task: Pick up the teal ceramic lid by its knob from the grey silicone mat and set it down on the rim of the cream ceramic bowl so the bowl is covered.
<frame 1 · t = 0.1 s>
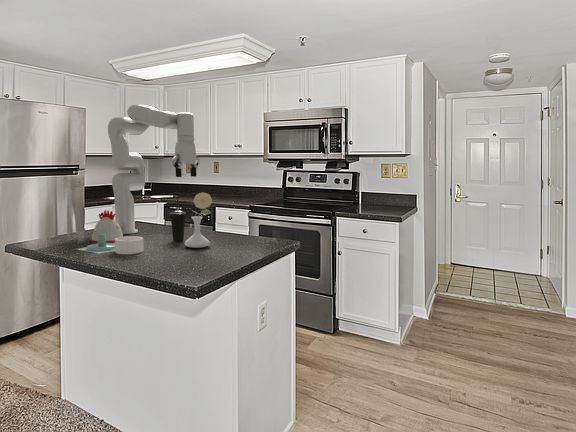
hand: (186, 176, 199), 31 cm above the countertop, tool pointing down, fingers open, 9 cm apart
lid: (102, 248, 183), point 1 cm above the countertop, touching mat
mat: (102, 249, 183), on the countertop
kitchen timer: (107, 242, 202), on the countertop
flower in vase: (199, 247, 192), on the countertop
drinking cup: (178, 240, 207), on the countertop
bowl: (129, 252, 179), on the countertop
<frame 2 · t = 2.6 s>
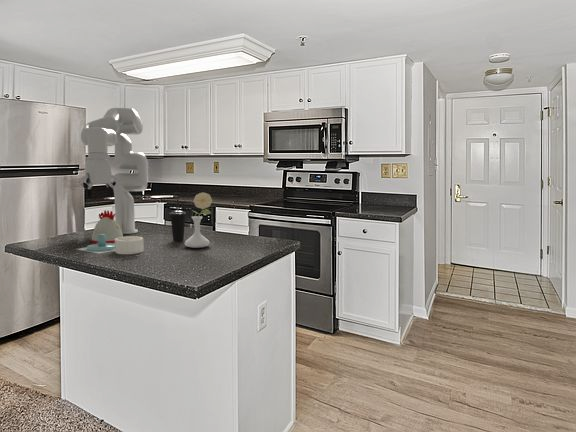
hand: (99, 198, 180), 22 cm above the countertop, tool pointing down, fingers open, 9 cm apart
nothing on the countertop moved.
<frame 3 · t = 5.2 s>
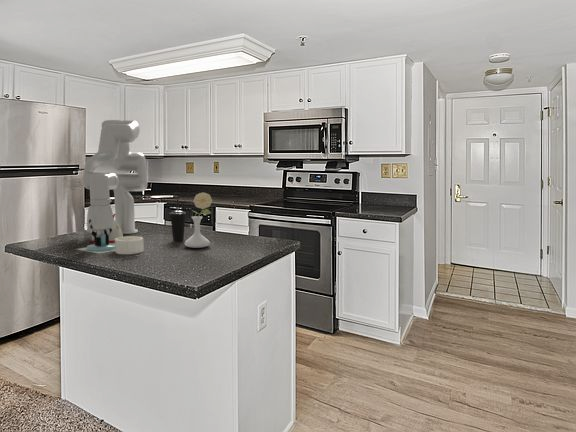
hand: (101, 244, 183), 2 cm above the countertop, tool pointing down, fingers closed on lid, 3 cm apart
lid: (102, 248, 183), point 1 cm above the countertop, touching gripper, mat
everything else where it was.
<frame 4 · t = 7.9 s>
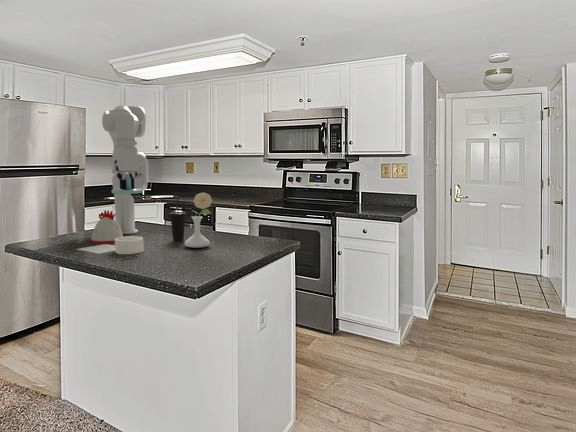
hand: (127, 188, 175), 27 cm above the countertop, tool pointing down, fingers closed on lid, 3 cm apart
lid: (127, 192, 175), point 25 cm above the countertop, touching gripper
everything else where it was.
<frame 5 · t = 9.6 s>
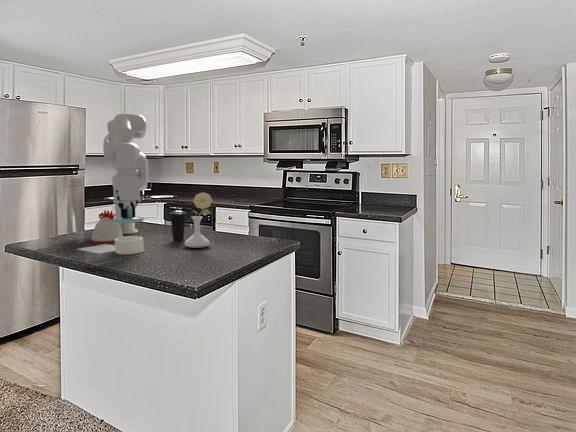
hand: (128, 217, 177), 15 cm above the countertop, tool pointing down, fingers closed on lid, 3 cm apart
lid: (128, 221, 177), point 14 cm above the countertop, touching gripper
everything else where it was.
when the fingers open (10 cm above the countertop, at t = 10.8 s): lid drops 2 cm, resting on bowl.
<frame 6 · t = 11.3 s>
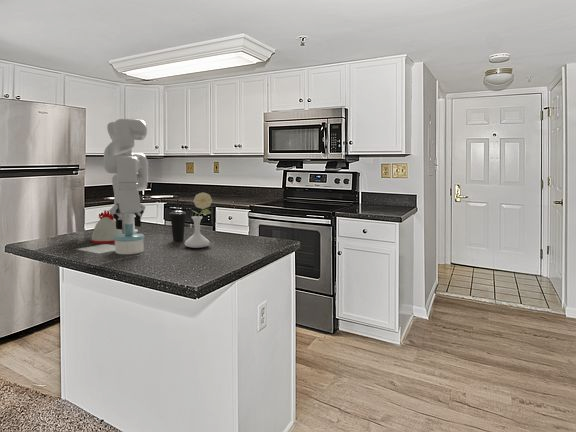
hand: (128, 227, 177), 11 cm above the countertop, tool pointing down, fingers open, 8 cm apart
lid: (129, 238, 178), point 6 cm above the countertop, touching bowl
everything else where it was.
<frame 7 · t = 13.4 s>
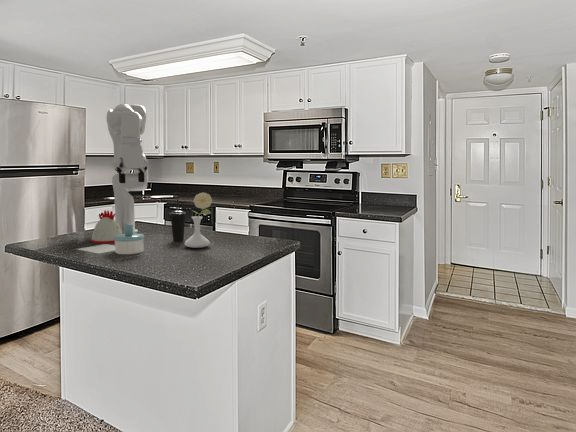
hand: (132, 182, 181), 29 cm above the countertop, tool pointing down, fingers open, 9 cm apart
nothing on the countertop moved.
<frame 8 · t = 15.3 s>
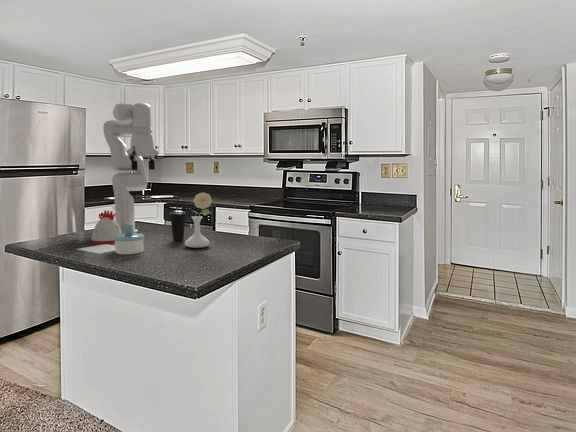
hand: (143, 169, 194), 34 cm above the countertop, tool pointing down, fingers open, 9 cm apart
nothing on the countertop moved.
at the end: lid 0.1 cm off-centre on the bowl, point 6.0 cm above the bowl's base; lid tilted 0°; the gripper is holding nothing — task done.
